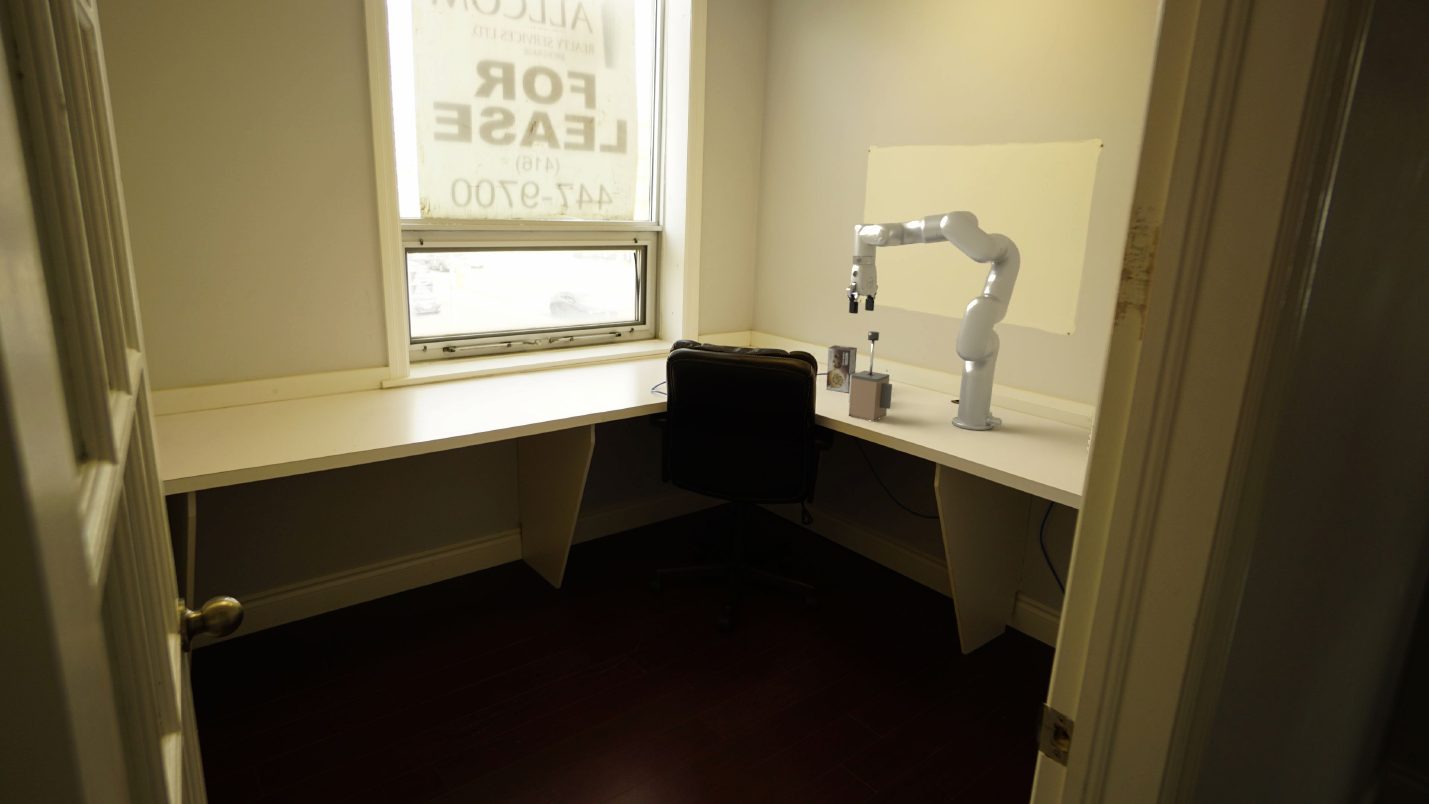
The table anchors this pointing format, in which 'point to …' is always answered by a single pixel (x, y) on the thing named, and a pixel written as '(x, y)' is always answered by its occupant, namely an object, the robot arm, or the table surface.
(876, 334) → the lever with black knob
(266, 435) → the table surface
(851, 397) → the tan lever base
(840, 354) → the coffee box
